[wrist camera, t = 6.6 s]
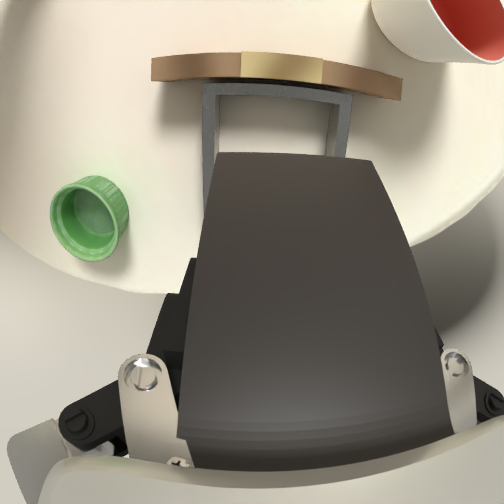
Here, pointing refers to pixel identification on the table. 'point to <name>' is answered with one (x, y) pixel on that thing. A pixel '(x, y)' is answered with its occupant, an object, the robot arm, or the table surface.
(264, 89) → the frame
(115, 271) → the table surface
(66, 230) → the ramekin
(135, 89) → the table surface
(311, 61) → the door edge rail
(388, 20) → the cup
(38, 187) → the table surface
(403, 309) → the phone stand
